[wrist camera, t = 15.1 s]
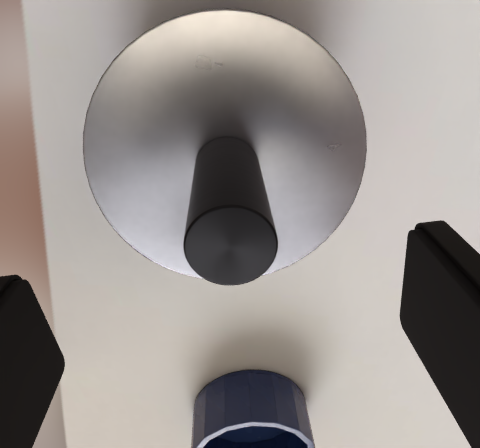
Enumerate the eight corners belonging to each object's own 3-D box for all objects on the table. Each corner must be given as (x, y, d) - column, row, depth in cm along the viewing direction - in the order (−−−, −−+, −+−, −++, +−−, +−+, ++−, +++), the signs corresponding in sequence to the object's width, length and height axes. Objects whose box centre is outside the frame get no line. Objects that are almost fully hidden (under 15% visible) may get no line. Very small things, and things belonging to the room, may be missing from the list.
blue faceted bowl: (189, 439, 43) (185, 494, 38) (199, 365, 37) (197, 418, 33) (292, 444, 44) (301, 498, 39) (316, 373, 39) (329, 425, 34)
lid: (93, 256, 21) (34, 377, 14) (84, -17, 15) (-25, -33, 8) (322, 278, 22) (367, 398, 15) (396, 35, 16) (519, 58, 10)
